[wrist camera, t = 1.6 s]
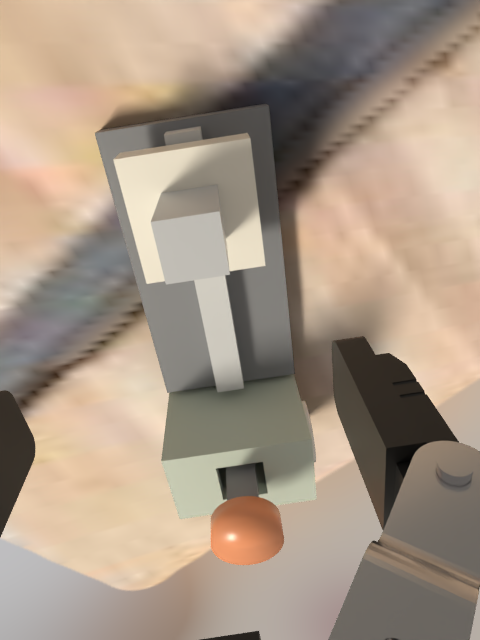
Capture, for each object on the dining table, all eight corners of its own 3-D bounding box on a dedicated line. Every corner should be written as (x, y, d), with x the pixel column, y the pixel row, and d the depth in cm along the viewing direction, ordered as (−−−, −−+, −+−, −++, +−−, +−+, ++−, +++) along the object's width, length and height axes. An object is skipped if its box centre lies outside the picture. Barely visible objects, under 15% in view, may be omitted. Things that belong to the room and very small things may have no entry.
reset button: (267, 432, 32) (280, 514, 26) (273, 475, 34) (286, 559, 28) (205, 441, 32) (204, 525, 26) (215, 483, 34) (217, 569, 28)
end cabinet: (296, 366, 36) (317, 438, 29) (301, 421, 39) (322, 498, 32) (170, 385, 36) (161, 461, 30) (184, 439, 39) (179, 519, 32)
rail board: (266, 103, 27) (272, 107, 24) (291, 362, 36) (298, 385, 33) (100, 129, 27) (88, 136, 24) (168, 381, 36) (165, 405, 34)
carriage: (245, 129, 26) (260, 155, 18) (259, 244, 29) (277, 306, 22) (124, 148, 26) (90, 182, 18) (153, 261, 29) (134, 327, 22)
